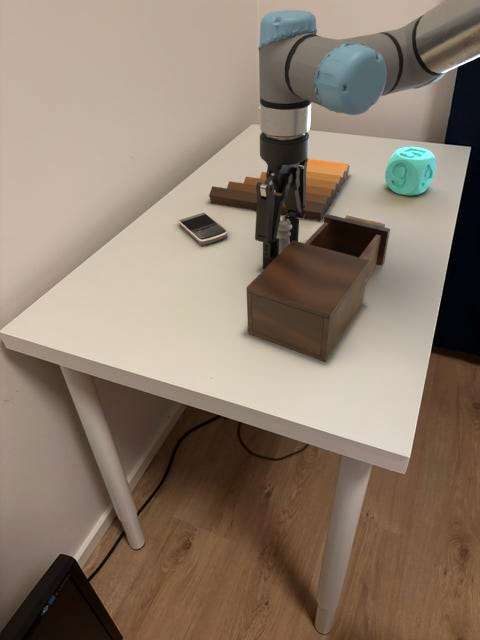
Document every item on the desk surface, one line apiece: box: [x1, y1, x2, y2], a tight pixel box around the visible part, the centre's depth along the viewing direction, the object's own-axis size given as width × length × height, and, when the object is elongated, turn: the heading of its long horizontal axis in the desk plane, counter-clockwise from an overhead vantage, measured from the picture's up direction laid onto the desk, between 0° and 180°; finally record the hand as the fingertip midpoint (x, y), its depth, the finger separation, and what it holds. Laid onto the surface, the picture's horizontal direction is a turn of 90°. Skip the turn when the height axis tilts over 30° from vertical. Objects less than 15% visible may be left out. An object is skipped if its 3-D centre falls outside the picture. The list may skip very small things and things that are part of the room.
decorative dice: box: [384, 146, 437, 196], centre depth 107 cm, size 8×8×8 cm
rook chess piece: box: [277, 217, 292, 254], centre depth 86 cm, size 4×4×8 cm
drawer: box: [304, 213, 391, 282], centre depth 82 cm, size 18×11×7 cm, turn 149°
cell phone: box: [177, 212, 229, 246], centre depth 97 cm, size 6×11×1 cm, turn 31°
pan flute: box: [208, 158, 351, 222], centre depth 110 cm, size 25×3×25 cm
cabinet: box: [246, 240, 369, 363], centre depth 73 cm, size 15×13×9 cm
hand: (280, 259), depth 88 cm, fingers open, 7 cm apart
